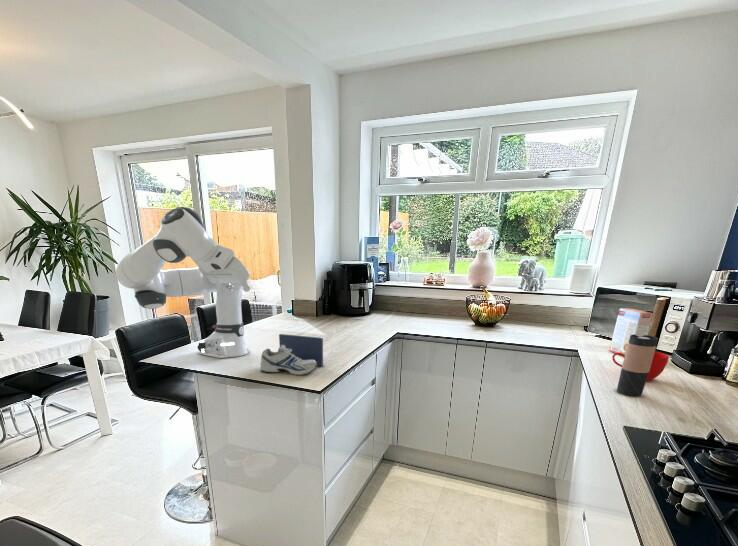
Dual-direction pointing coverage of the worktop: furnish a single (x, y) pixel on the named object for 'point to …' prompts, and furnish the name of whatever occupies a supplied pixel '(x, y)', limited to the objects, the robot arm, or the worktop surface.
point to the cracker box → (629, 328)
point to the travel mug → (636, 365)
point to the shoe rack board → (304, 347)
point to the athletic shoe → (285, 362)
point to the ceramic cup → (652, 364)
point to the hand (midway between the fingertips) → (239, 290)
